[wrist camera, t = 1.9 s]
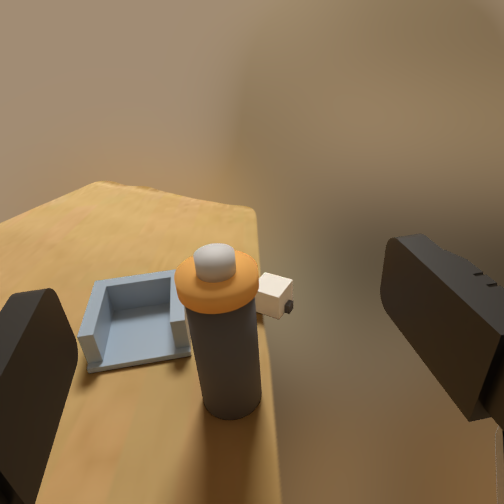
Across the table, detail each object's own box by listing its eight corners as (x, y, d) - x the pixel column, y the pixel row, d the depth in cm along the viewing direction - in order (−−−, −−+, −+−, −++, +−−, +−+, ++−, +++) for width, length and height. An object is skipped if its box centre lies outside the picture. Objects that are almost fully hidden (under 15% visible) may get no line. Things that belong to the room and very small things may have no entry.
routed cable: (136, 299, 39) (130, 278, 37) (178, 266, 44) (174, 247, 42) (264, 348, 32) (263, 325, 30) (297, 302, 37) (297, 281, 35)
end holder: (191, 355, 32) (184, 324, 30) (88, 373, 31) (75, 342, 29) (188, 296, 39) (183, 268, 37) (104, 309, 38) (95, 281, 36)
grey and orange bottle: (185, 405, 27) (152, 265, 21) (223, 359, 31) (204, 227, 25) (243, 435, 25) (226, 288, 19) (277, 381, 29) (272, 242, 22)
